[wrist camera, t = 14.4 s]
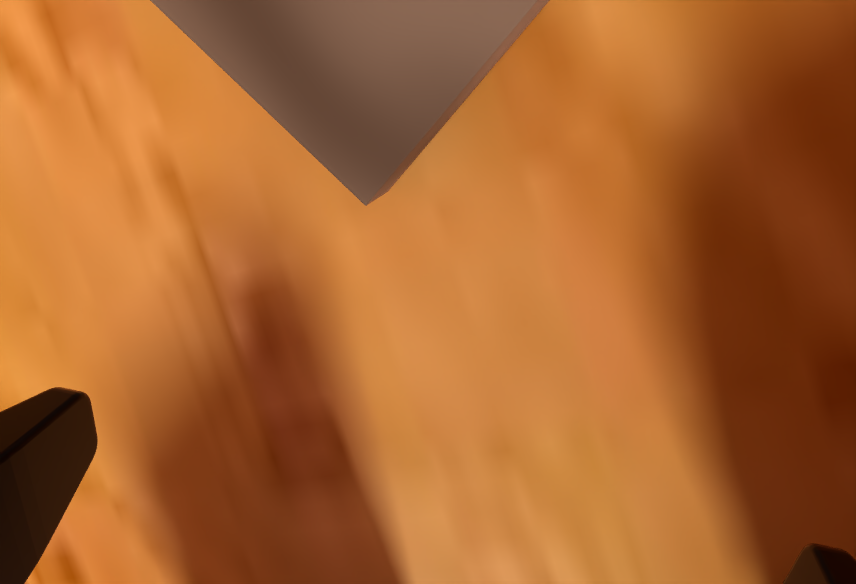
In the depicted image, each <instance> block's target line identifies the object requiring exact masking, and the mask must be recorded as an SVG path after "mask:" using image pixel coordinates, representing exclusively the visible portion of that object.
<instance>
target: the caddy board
mask: <svg viewBox="0 0 856 584" xmlns="http://www.w3.org/2000/svg"><path fill="white" fill-rule="evenodd" d="M150 1H152V2H153V3H154V4H155V5H156V6H157V7H158V8H159V9H160V10H161V11H162V12H163V13H164V14H165V15H166V16H167V17H168V18H169V19H170V20H171V21H173V22H174V23H175V24H176V25H177V26H178V27H179V28H180V29H181V30H182V31H183V32H184V33H185V34H186V35H187V36H188V37H189V38H190V39H191V40H192V41H193V42H195V43H196V44H197V45H198V46H199V47H200V48H201V49H202V50H203V51H204V52H205V53H206V54H207V55H208V56H209V57H210V58H211V59H212V60H213V61H214V62H215V63H217V64H218V65H219V66H220V67H221V68H222V69H223V70H224V71H225V72H226V73H227V74H228V75H229V76H230V77H231V78H232V79H233V80H234V81H235V82H236V83H238V84H239V85H240V86H241V87H242V88H243V89H244V90H245V91H246V92H247V93H248V94H249V95H250V96H251V97H252V98H253V99H254V100H255V101H256V102H257V103H258V104H260V105H261V106H262V107H263V108H264V109H265V110H266V111H267V112H268V113H269V114H270V115H271V116H272V117H273V118H274V119H275V120H276V121H277V122H278V123H279V124H280V125H282V126H283V127H284V128H285V129H286V130H287V131H288V132H289V133H290V134H291V135H292V136H293V137H294V138H295V139H296V140H297V141H298V142H299V143H300V144H301V145H303V146H304V147H305V148H306V149H307V150H308V151H309V152H310V153H311V154H312V155H313V156H314V157H315V158H316V159H317V160H318V161H319V162H320V163H321V164H322V165H323V166H325V167H326V168H327V169H328V170H329V171H330V172H331V173H332V174H333V175H334V176H335V177H336V178H337V179H338V180H339V181H340V182H341V183H342V184H343V185H344V186H345V187H347V188H348V189H349V190H350V191H351V192H352V193H353V194H354V195H355V196H356V197H357V198H358V199H359V200H360V201H361V202H362V203H363V204H364V205H365V206H366V205H368V204H369V203H371V202H372V201H374V200H375V199H377V198H378V197H380V196H382V195H383V194H385V193H386V192H388V191H389V189H390V188H391V187H392V186H393V185H394V183H395V182H396V181H397V180H398V179H399V178H400V176H401V175H402V174H403V173H404V172H405V170H406V169H407V168H408V167H409V166H410V165H411V163H412V162H413V161H414V160H415V159H416V157H417V156H418V155H419V154H420V153H421V152H422V150H423V149H424V148H425V147H426V146H427V144H428V143H429V142H430V141H431V140H432V139H433V137H434V136H435V135H436V134H437V133H438V131H439V130H440V129H441V128H442V127H443V126H444V124H445V123H446V122H447V121H448V120H449V118H450V117H451V116H452V115H453V114H454V112H455V111H456V110H457V109H458V108H459V107H460V105H461V104H462V103H463V102H464V101H465V99H466V98H467V97H468V96H469V95H470V94H471V92H472V91H473V90H474V89H475V88H476V86H477V85H478V84H479V83H480V82H481V81H482V79H483V78H484V77H485V76H486V75H487V73H488V72H489V71H490V70H491V69H492V68H493V66H494V65H495V64H496V63H497V62H498V60H499V59H500V58H501V57H502V56H503V55H504V53H505V52H506V51H507V50H508V49H509V47H510V46H511V45H512V44H513V43H514V42H515V40H516V39H517V38H518V37H519V36H520V34H521V33H522V32H523V31H524V30H525V29H526V27H527V26H528V25H529V24H530V23H531V21H532V20H533V19H534V18H535V17H536V15H537V14H538V13H539V12H540V11H541V10H542V8H543V7H544V6H545V5H546V4H547V2H548V1H549V0H150Z"/></svg>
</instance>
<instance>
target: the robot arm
mask: <svg viewBox="0 0 856 584" xmlns="http://www.w3.org/2000/svg"><path fill="white" fill-rule="evenodd" d="M96 449H97V433H96V427H95V422H94V417H93V411H92V406H91V401H90V398H89V397H88V395H87V394H86V393H84V392H81V391H76V390H71V389H66V388H61V387H55V388H51V389H49V390H46V391H44V392H42V393H40V394H38V395H36V396H34V397H31V398H29V399H27V400H25V401H23V402H21V403H19V404H16V405H14V406H12V407H10V408H8V409H6V410H4V411H1V412H0V584H24V583H25V582H26V580H27V579H28V577H29V576H30V574H31V572H32V571H33V569H34V568H35V566H36V564H37V563H38V561H39V560H40V558H41V556H42V554H43V552H44V551H45V549H46V547H47V545H48V544H49V542H50V540H51V538H52V536H53V534H54V532H55V530H56V528H57V526H58V524H59V523H60V521H61V519H62V517H63V515H64V513H65V511H66V509H67V507H68V505H69V503H70V502H71V500H72V498H73V496H74V494H75V492H76V490H77V488H78V486H79V484H80V482H81V481H82V479H83V477H84V475H85V473H86V471H87V469H88V467H89V465H90V463H91V461H92V460H93V457H94V455H95V452H96ZM783 584H856V560H855V559H854V558H853V557H852V556H851V555H850V554H849V553H847V552H846V551H844V550H842V549H838V548H833V547H828V546H823V545H819V544H809V545H807V546H805V547H804V548H803V550H802V551H801V553H800V555H799V556H798V558H797V560H796V562H795V563H794V565H793V567H792V569H791V570H790V572H789V574H788V576H787V577H786V579H785V581H784V583H783Z"/></svg>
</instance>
